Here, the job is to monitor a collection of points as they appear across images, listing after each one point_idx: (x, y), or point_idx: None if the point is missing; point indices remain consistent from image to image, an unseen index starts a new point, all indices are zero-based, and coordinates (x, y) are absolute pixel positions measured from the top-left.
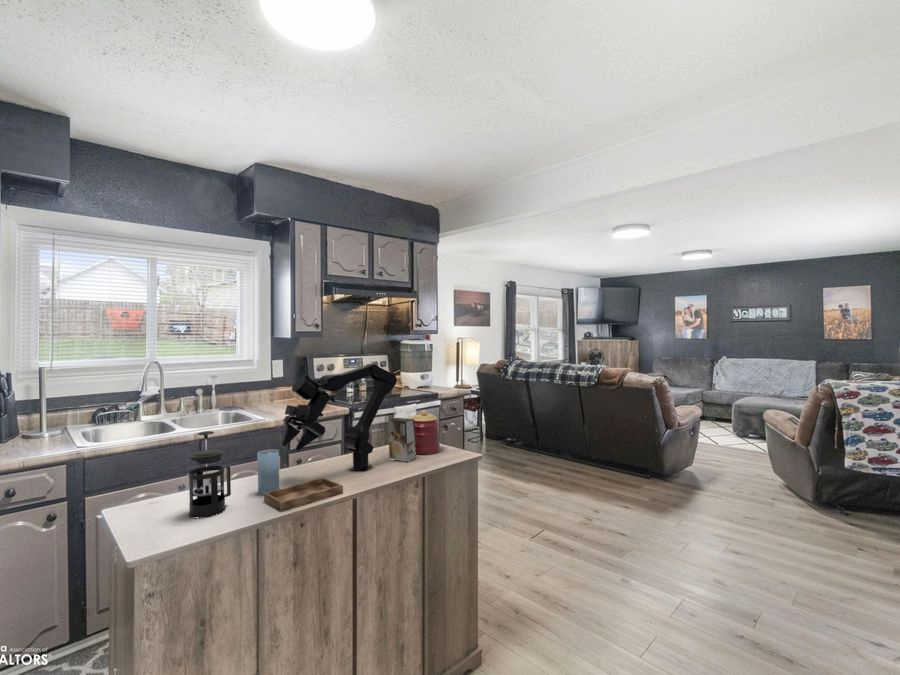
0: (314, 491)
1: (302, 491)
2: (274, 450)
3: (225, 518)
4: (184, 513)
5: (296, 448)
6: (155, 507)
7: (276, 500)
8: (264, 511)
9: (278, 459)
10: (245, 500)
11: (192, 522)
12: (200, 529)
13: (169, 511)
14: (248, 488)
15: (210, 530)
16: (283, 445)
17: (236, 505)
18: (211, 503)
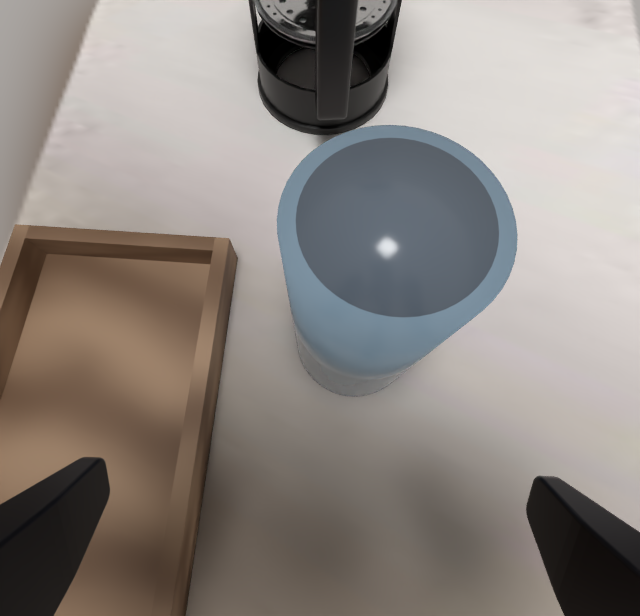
0: None
1: (161, 450)
2: (388, 289)
3: (195, 95)
4: None
5: (72, 463)
6: (526, 4)
7: (72, 228)
8: (121, 205)
9: (313, 329)
10: None
11: None
12: (176, 22)
13: (441, 17)
14: (502, 299)
15: (137, 35)
16: (532, 490)
17: None
18: (257, 29)
